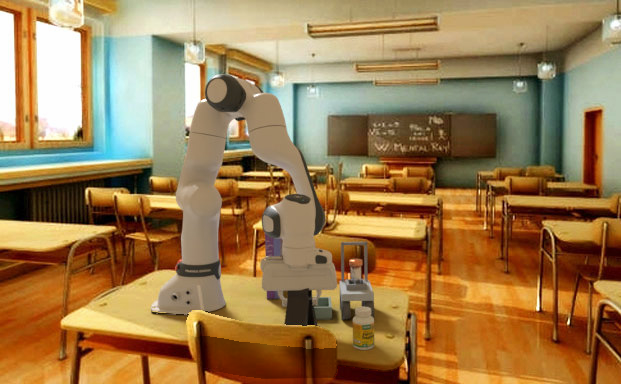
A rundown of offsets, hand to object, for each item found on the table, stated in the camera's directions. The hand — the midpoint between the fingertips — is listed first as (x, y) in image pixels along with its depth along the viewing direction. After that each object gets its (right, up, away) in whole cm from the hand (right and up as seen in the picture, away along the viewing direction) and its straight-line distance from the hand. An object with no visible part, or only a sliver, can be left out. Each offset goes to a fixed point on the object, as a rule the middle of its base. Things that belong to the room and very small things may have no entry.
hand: (300, 305), depth 146 cm
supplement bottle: (+16, -8, -11) cm, 21 cm away
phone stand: (0, -7, +1) cm, 7 cm away
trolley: (+16, -5, +12) cm, 21 cm away
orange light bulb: (+16, +3, +11) cm, 20 cm away
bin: (+4, -5, +13) cm, 14 cm away
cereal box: (-9, -3, +36) cm, 37 cm away
